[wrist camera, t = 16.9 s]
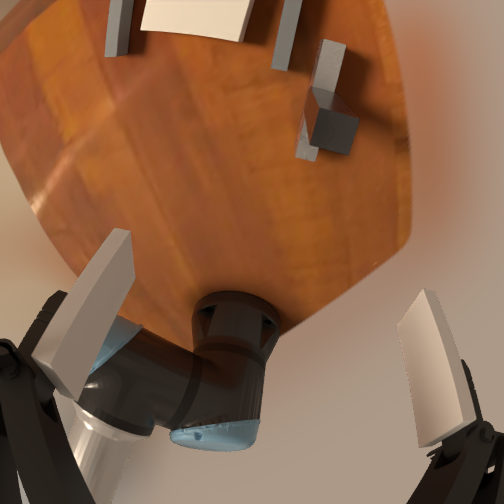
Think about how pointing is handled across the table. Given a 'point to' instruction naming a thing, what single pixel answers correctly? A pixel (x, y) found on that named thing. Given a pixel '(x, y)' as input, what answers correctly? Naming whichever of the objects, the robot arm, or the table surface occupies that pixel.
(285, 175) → the table surface
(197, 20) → the cream tile
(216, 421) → the robot arm
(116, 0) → the frame
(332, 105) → the grey inverted t block
